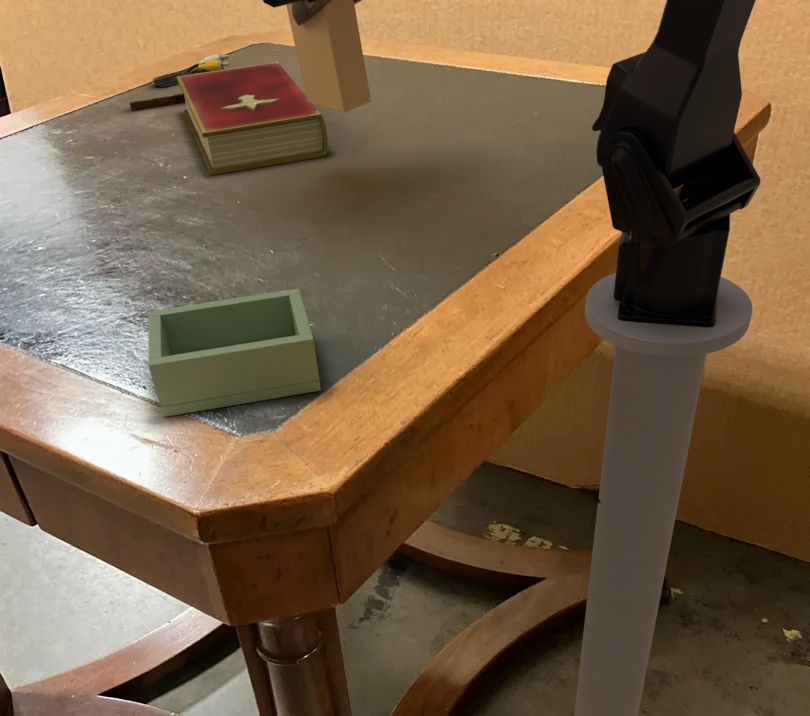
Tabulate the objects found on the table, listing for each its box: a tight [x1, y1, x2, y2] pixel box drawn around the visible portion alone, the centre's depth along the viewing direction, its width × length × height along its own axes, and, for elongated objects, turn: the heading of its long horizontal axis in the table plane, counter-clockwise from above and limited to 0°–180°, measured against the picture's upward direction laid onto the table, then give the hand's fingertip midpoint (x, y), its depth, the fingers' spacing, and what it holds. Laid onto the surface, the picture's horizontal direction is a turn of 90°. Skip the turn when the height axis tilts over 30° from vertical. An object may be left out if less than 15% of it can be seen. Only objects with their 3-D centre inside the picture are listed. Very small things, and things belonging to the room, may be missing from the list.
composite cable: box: [152, 53, 230, 87], centre depth 113 cm, size 10×5×2 cm, turn 106°
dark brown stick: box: [129, 93, 186, 112], centre depth 106 cm, size 15×1×1 cm, turn 109°
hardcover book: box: [177, 61, 329, 176], centre depth 95 cm, size 12×21×4 cm, turn 18°
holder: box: [147, 287, 322, 418], centre depth 58 cm, size 7×10×4 cm
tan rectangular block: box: [285, 0, 372, 114], centre depth 76 cm, size 3×6×13 cm, turn 38°
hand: (313, 16), depth 77 cm, fingers closed on tan rectangular block, 3 cm apart
